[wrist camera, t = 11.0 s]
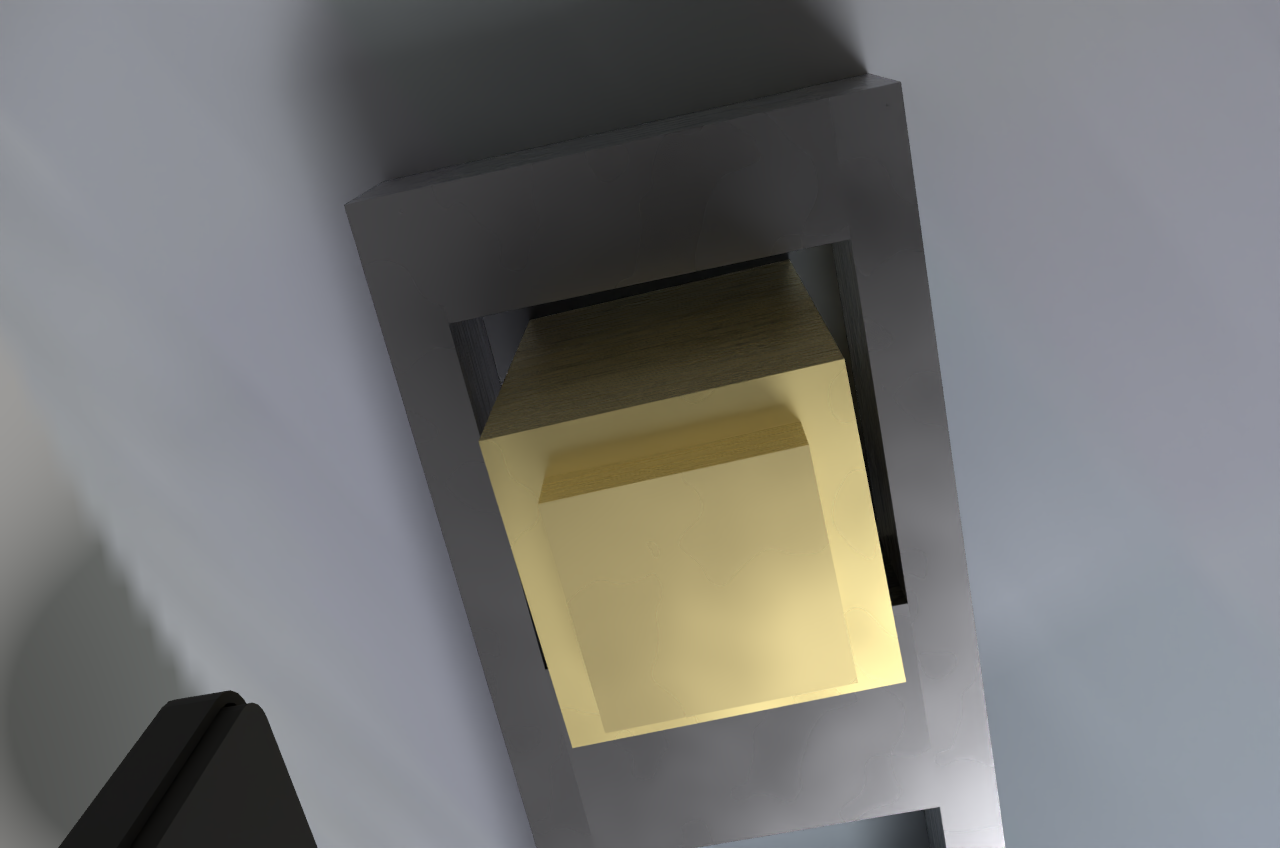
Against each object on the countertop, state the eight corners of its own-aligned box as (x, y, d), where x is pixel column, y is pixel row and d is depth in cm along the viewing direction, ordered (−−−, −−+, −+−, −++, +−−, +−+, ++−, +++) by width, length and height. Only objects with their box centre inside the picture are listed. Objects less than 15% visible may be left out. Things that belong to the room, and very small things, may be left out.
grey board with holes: (383, 181, 19) (344, 205, 16) (869, 73, 18) (900, 81, 16) (641, 1083, 25) (640, 1193, 23) (1007, 1028, 25) (1044, 1135, 22)
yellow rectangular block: (529, 319, 20) (468, 465, 13) (788, 258, 19) (855, 379, 13) (595, 552, 21) (568, 785, 15) (837, 500, 21) (919, 717, 14)
